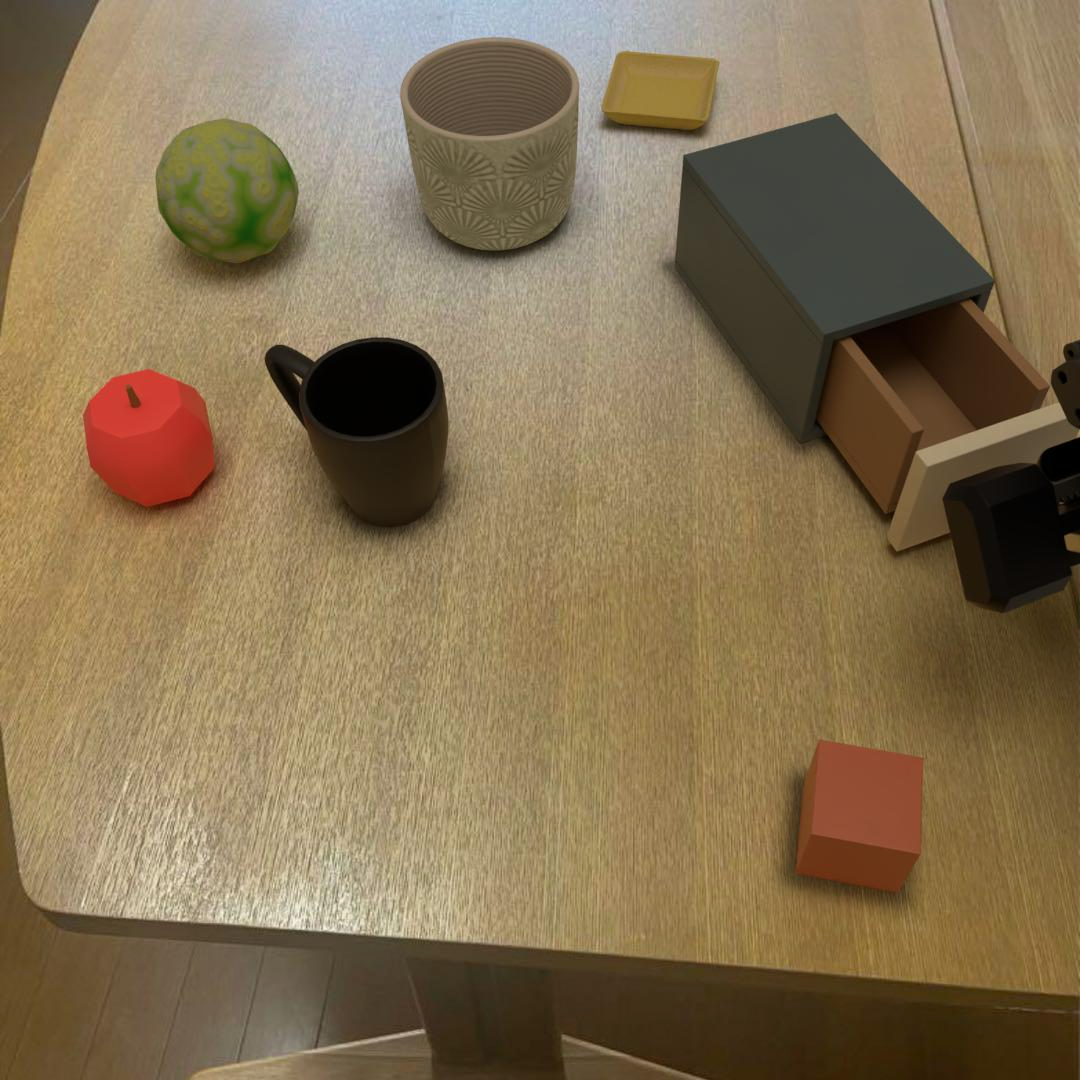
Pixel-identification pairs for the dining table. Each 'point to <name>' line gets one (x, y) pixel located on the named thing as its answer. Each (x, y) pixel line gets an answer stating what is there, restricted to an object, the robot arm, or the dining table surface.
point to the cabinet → (810, 254)
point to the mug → (371, 422)
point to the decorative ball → (226, 190)
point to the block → (861, 816)
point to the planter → (493, 139)
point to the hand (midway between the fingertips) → (1023, 480)
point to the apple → (149, 437)
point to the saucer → (660, 90)
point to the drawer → (933, 411)
